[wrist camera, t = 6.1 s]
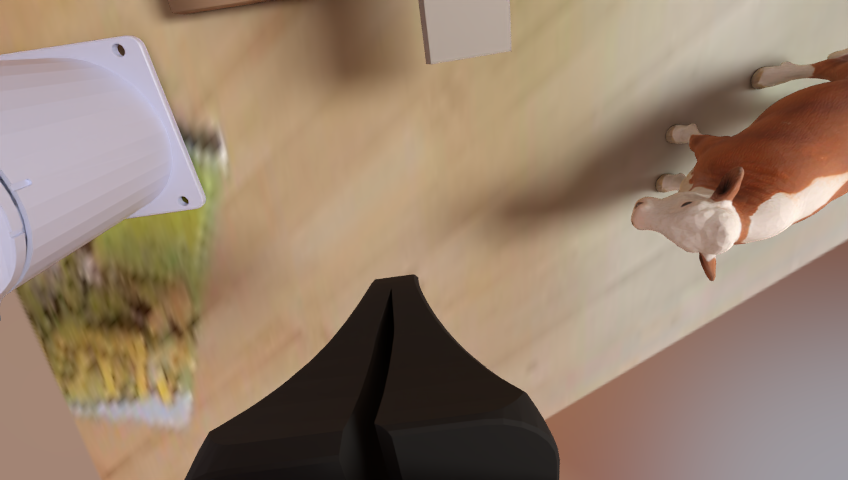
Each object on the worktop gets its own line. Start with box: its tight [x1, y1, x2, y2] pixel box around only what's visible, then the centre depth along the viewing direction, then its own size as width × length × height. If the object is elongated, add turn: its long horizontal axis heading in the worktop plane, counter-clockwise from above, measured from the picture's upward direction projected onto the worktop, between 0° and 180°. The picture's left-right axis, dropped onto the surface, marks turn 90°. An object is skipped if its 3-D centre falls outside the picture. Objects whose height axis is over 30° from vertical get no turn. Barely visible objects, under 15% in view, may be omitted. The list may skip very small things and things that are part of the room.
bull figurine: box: [631, 48, 848, 281], centre depth 17 cm, size 4×13×8 cm, turn 120°
